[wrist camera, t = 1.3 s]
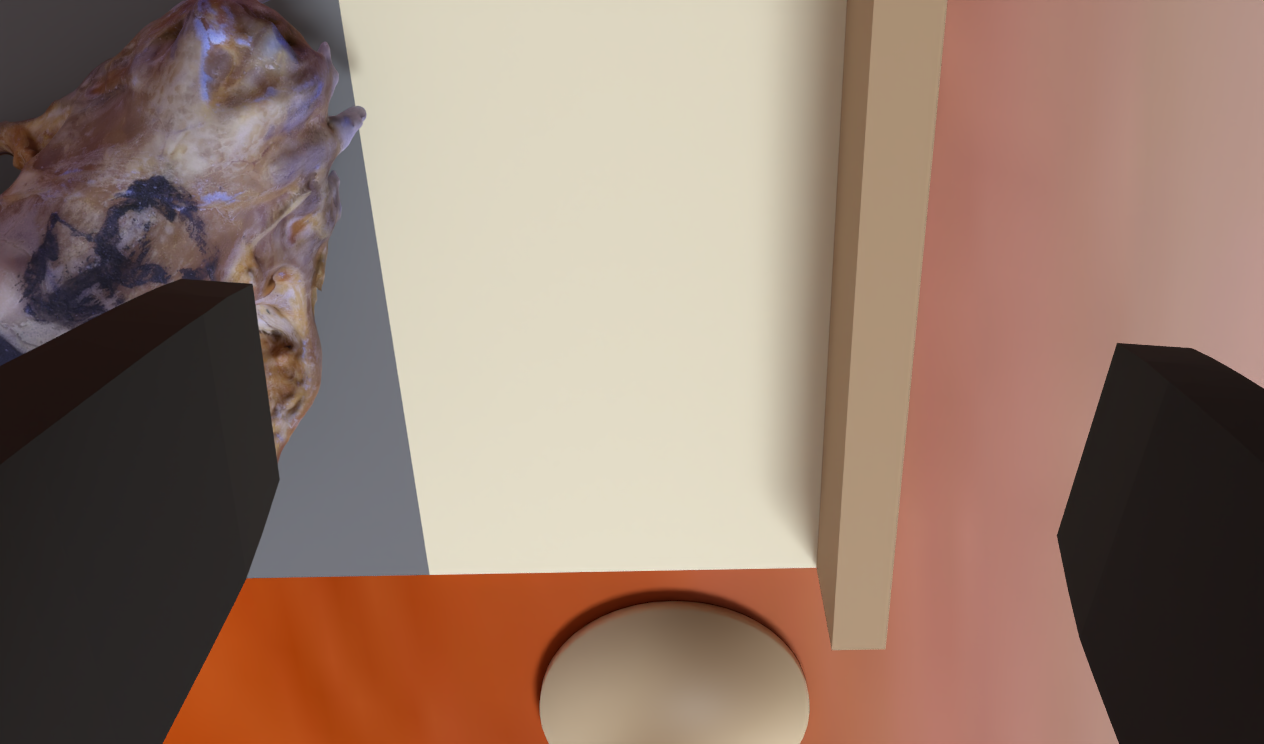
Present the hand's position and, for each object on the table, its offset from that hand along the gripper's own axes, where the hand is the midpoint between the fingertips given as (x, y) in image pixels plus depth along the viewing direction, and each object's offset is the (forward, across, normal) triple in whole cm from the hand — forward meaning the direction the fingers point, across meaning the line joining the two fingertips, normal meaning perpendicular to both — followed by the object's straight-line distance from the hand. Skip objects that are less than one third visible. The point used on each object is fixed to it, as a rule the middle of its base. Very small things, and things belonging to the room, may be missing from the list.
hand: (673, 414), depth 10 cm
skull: (+10, +9, +4) cm, 14 cm away
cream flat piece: (+10, +6, +4) cm, 12 cm away
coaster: (+10, -1, +15) cm, 18 cm away
